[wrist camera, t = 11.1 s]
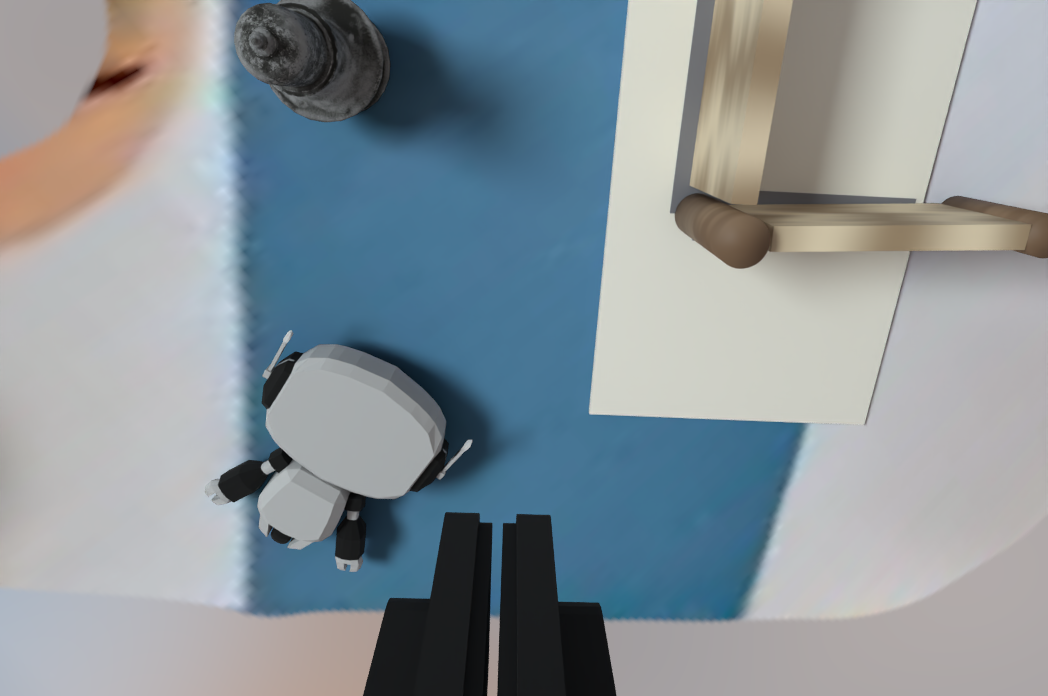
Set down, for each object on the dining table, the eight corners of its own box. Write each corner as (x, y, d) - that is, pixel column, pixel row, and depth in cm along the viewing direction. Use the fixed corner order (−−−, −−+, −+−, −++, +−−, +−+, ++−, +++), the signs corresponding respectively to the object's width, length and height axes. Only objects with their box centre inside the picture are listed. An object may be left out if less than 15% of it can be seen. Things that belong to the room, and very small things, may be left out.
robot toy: (369, 551, 46) (484, 404, 41) (352, 599, 42) (478, 443, 37) (213, 467, 44) (315, 298, 38) (178, 509, 40) (287, 327, 34)
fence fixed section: (715, -107, 32) (784, -181, 23) (763, -104, 32) (848, -177, 24) (670, 233, 37) (713, 267, 29) (711, 235, 37) (765, 270, 29)
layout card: (637, -98, 32) (639, -100, 31) (993, -75, 32) (998, -77, 32) (588, 412, 41) (589, 414, 41) (861, 422, 42) (864, 425, 42)
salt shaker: (289, 118, 35) (182, 124, 24) (279, -3, 33) (156, -60, 22) (397, 122, 35) (342, 130, 24) (394, 2, 33) (331, -52, 22)
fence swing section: (724, 233, 37) (769, 260, 30) (727, 197, 36) (775, 217, 29) (966, 231, 37) (1064, 258, 30) (975, 195, 36) (1077, 215, 30)
